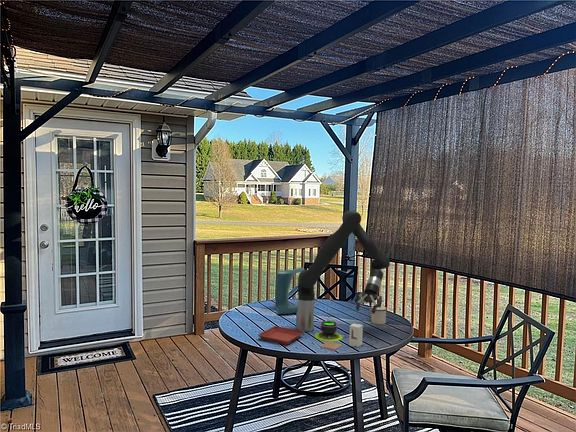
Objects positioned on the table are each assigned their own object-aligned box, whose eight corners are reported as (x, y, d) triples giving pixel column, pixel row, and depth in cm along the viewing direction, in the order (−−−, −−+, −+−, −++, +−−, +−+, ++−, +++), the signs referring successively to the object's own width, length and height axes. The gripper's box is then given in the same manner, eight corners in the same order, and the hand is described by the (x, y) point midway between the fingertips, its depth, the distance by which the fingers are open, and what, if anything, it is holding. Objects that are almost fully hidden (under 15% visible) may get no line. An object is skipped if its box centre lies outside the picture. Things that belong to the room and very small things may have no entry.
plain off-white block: (349, 345, 211) (349, 325, 210) (352, 342, 215) (353, 323, 215) (358, 347, 208) (359, 327, 208) (362, 344, 212) (362, 325, 212)
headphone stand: (315, 307, 284) (314, 266, 285) (311, 316, 257) (310, 271, 257) (277, 307, 288) (276, 267, 288) (270, 316, 260) (268, 272, 261)
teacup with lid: (389, 323, 251) (389, 304, 251) (378, 325, 246) (379, 306, 246) (375, 318, 261) (375, 300, 261) (364, 320, 256) (364, 301, 256)
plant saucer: (287, 347, 206) (288, 340, 206) (257, 340, 215) (257, 334, 215) (304, 337, 222) (304, 331, 222) (275, 331, 231) (275, 325, 230)
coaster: (320, 347, 206) (320, 345, 206) (327, 342, 213) (327, 341, 213) (335, 350, 202) (335, 349, 202) (341, 346, 209) (341, 344, 209)
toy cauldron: (348, 337, 224) (348, 316, 223) (331, 343, 213) (331, 322, 212) (326, 330, 234) (326, 311, 234) (308, 336, 223) (309, 316, 223)
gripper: (359, 280, 232) (350, 305, 222) (384, 284, 224) (376, 309, 215) (362, 288, 236) (354, 313, 227) (386, 292, 229) (379, 317, 220)
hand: (364, 311), depth 221 cm, fingers open, 8 cm apart
